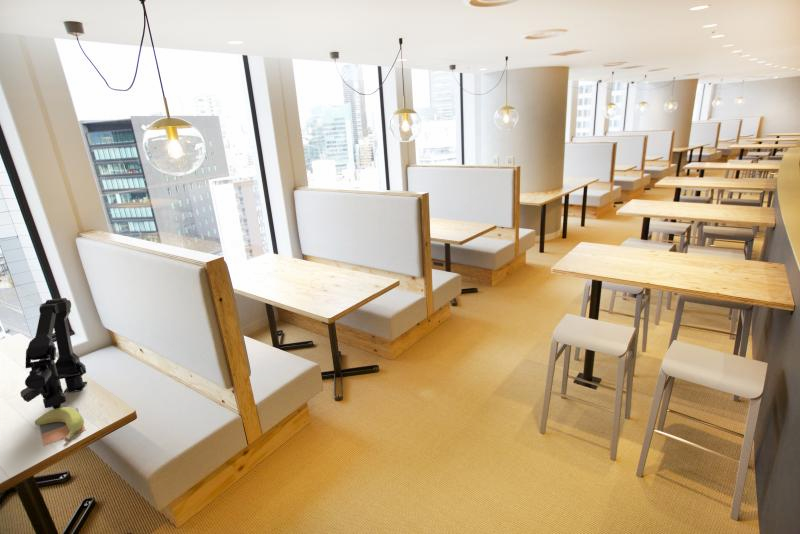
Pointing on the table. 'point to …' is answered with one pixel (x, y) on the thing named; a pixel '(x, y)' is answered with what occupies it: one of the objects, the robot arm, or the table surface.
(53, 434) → the pad
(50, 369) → the robot arm
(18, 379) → the table surface
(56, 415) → the banana
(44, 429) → the mat
